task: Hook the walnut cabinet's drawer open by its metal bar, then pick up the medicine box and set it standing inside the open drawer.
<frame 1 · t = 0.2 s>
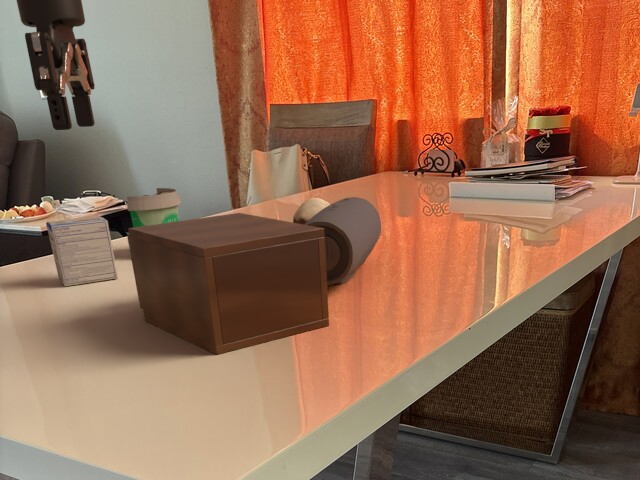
hand: (75, 128, 94), 21 cm above the table, tool pointing down, fingers open, 8 cm apart
cabinet: (234, 323, 85), on the table
food container: (169, 254, 124), on the table
medicine box: (89, 281, 107), on the table
drawer: (207, 270, 86), point 5 cm above the table, slide at 1.0 cm
bluetooth speaker: (341, 277, 105), on the table
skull: (319, 244, 128), on the table
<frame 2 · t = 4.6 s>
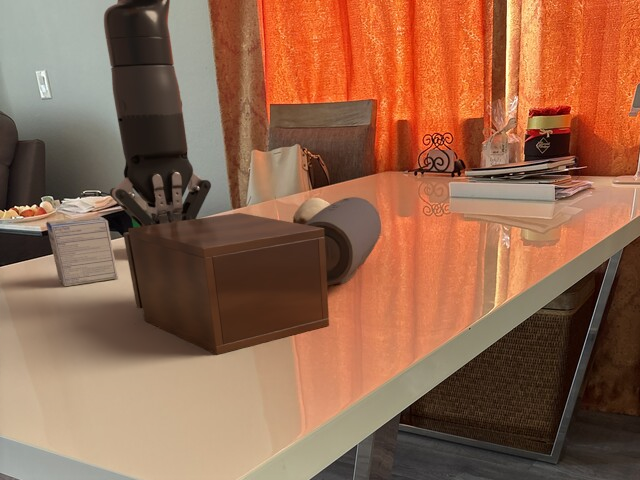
hand: (173, 262, 92), 5 cm above the table, tool pointing down, fingers closed
drawer: (203, 269, 86), point 5 cm above the table, slide at 2.1 cm
everything else where it was.
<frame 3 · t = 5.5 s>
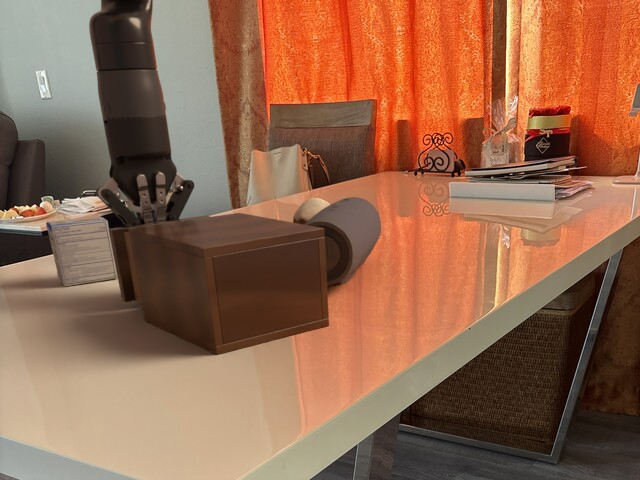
hand: (157, 259, 95), 5 cm above the table, tool pointing down, fingers closed
drawer: (186, 264, 89), point 5 cm above the table, slide at 6.6 cm, touching gripper
everything else where it was.
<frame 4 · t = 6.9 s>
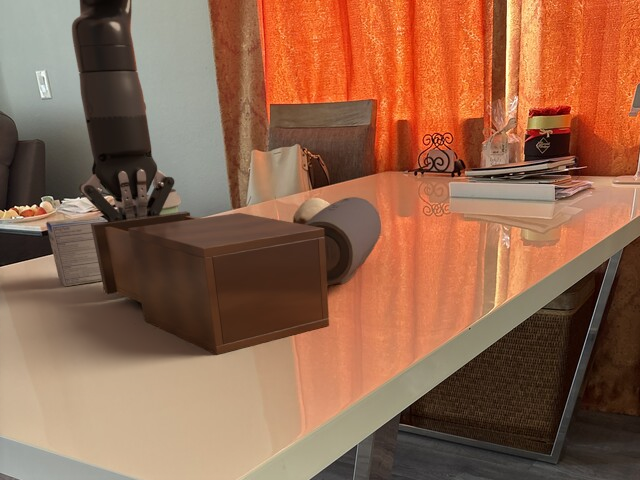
hand: (139, 252, 99), 5 cm above the table, tool pointing down, fingers closed
drawer: (165, 257, 93), point 5 cm above the table, slide at 12.5 cm, touching gripper
everything else where it was.
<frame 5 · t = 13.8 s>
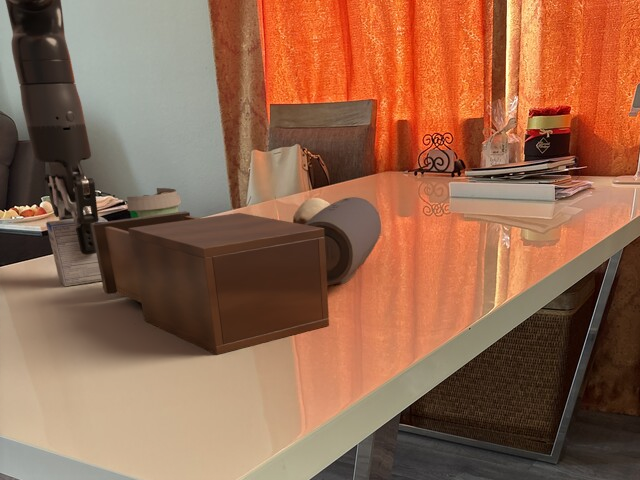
hand: (82, 250, 105), 4 cm above the table, tool pointing down, fingers closed on medicine box, 4 cm apart
medicine box: (89, 281, 107), on the table, touching gripper
drawer: (165, 257, 94), point 5 cm above the table, slide at 12.5 cm
everything else where it was.
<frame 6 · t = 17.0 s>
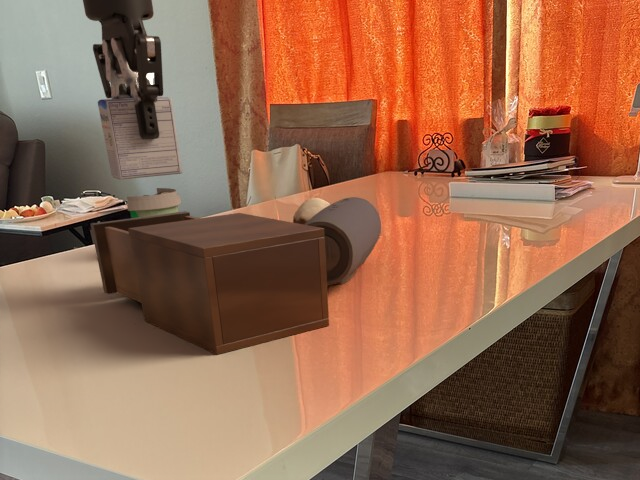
hand: (140, 137, 87), 20 cm above the table, tool pointing down, fingers closed on medicine box, 4 cm apart
medicine box: (147, 178, 89), point 15 cm above the table, touching gripper
everything else where it was.
when the fingers open (6 cm above the table, at t = 20.6 s): medicine box stays where it is, resting on drawer.
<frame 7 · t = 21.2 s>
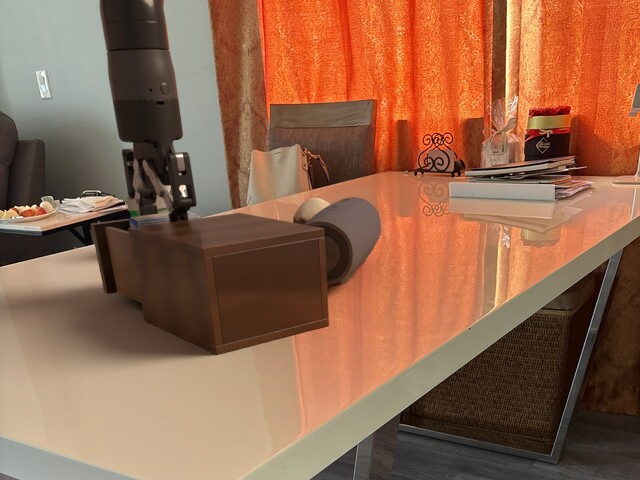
hand: (167, 239, 91), 8 cm above the table, tool pointing down, fingers open, 8 cm apart
medicine box: (174, 286, 94), point 2 cm above the table, touching drawer
drawer: (165, 257, 93), point 5 cm above the table, slide at 12.5 cm, touching medicine box
everything else where it was.
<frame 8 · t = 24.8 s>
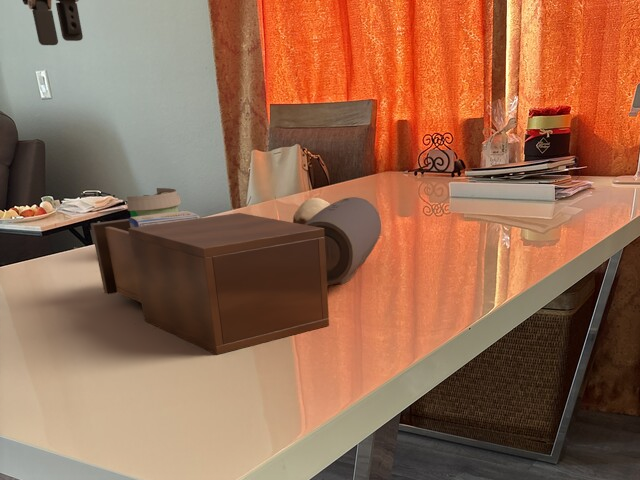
hand: (60, 42, 87), 30 cm above the table, tool pointing down, fingers open, 8 cm apart
nothing on the table moved.
at the end: drawer slide at 12.5 cm; medicine box inside the target area in the drawer (0.2 cm from its centre), point 1.9 cm above the cabinet's base; medicine box tilted 0° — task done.
